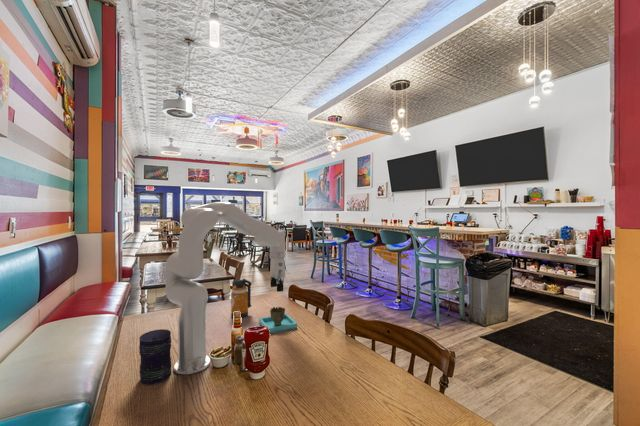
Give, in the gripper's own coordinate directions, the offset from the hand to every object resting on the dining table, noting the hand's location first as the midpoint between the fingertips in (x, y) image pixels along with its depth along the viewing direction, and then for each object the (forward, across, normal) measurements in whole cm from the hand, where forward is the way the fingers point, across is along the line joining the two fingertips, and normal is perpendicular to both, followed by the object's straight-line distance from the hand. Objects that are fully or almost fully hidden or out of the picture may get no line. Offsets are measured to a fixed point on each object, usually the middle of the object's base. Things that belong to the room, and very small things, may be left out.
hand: (276, 289), depth 148 cm
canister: (+19, +23, +12) cm, 32 cm away
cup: (+18, 0, -1) cm, 18 cm away
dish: (+19, 0, -1) cm, 19 cm away
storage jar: (+20, -22, +52) cm, 60 cm away
